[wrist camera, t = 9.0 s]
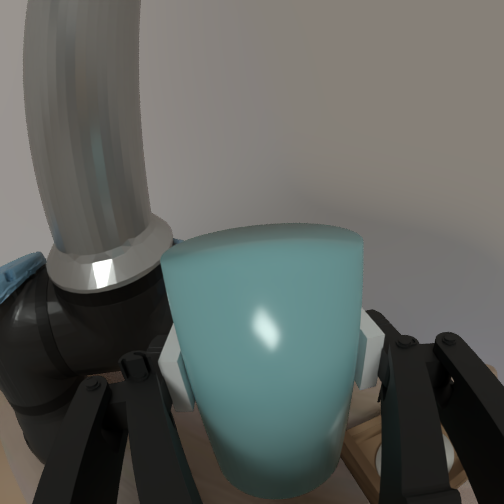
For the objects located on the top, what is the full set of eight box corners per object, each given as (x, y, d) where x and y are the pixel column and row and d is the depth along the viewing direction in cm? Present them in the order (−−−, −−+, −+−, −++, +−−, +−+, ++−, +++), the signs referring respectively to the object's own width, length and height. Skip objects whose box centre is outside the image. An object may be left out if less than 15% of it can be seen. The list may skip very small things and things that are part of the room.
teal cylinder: (230, 512, 9) (148, 297, 6) (210, 422, 16) (166, 238, 13) (361, 471, 10) (408, 249, 7) (312, 397, 17) (310, 218, 14)
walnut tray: (391, 533, 12) (401, 525, 11) (335, 448, 24) (338, 433, 23) (485, 463, 14) (497, 447, 13) (424, 404, 26) (430, 387, 26)
